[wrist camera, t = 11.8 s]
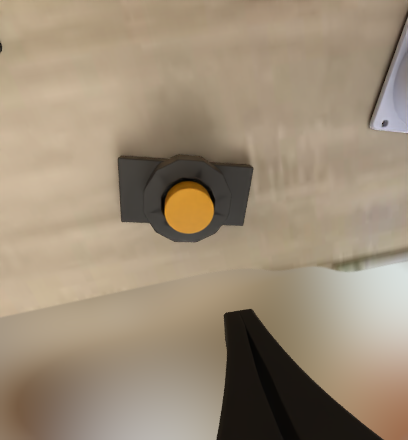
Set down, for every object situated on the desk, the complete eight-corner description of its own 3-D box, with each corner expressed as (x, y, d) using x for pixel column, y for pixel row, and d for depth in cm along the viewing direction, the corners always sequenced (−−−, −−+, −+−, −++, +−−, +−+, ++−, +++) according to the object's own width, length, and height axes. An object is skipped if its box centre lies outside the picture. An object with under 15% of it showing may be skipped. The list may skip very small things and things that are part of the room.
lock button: (212, 182, 16) (216, 189, 15) (207, 223, 18) (211, 234, 16) (165, 179, 16) (165, 186, 14) (164, 222, 17) (163, 233, 15)
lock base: (251, 157, 18) (264, 165, 16) (239, 226, 21) (249, 243, 18) (119, 147, 17) (110, 154, 14) (123, 223, 19) (115, 241, 17)
